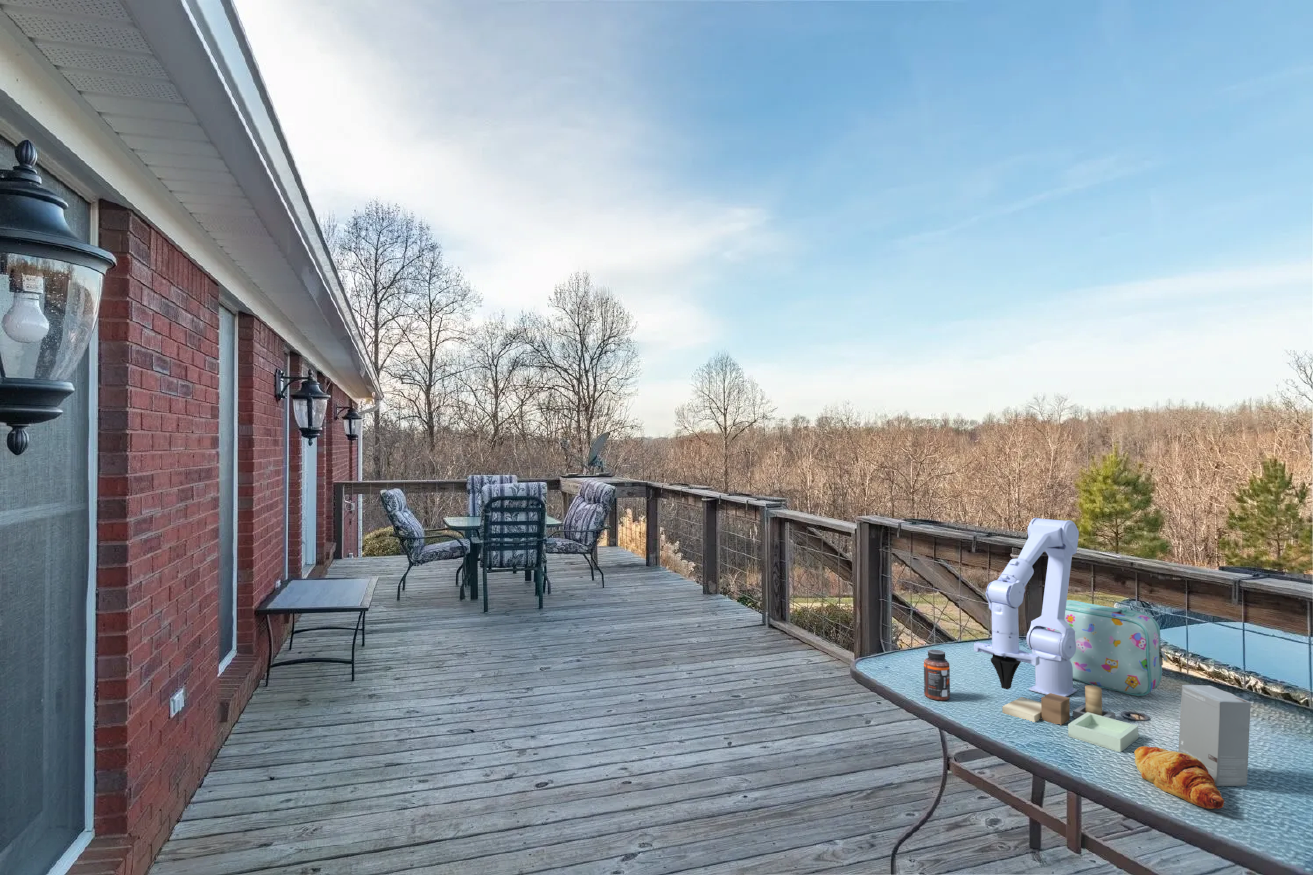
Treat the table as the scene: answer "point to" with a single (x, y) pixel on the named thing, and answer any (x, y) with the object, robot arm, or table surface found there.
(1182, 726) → the skincare box
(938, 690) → the supplement bottle
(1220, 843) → the table surface
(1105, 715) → the dowel socket
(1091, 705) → the dowel
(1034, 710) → the cream flat block
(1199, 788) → the croissant
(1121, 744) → the tray
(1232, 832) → the table surface
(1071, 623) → the lunch box
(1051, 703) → the brown block
